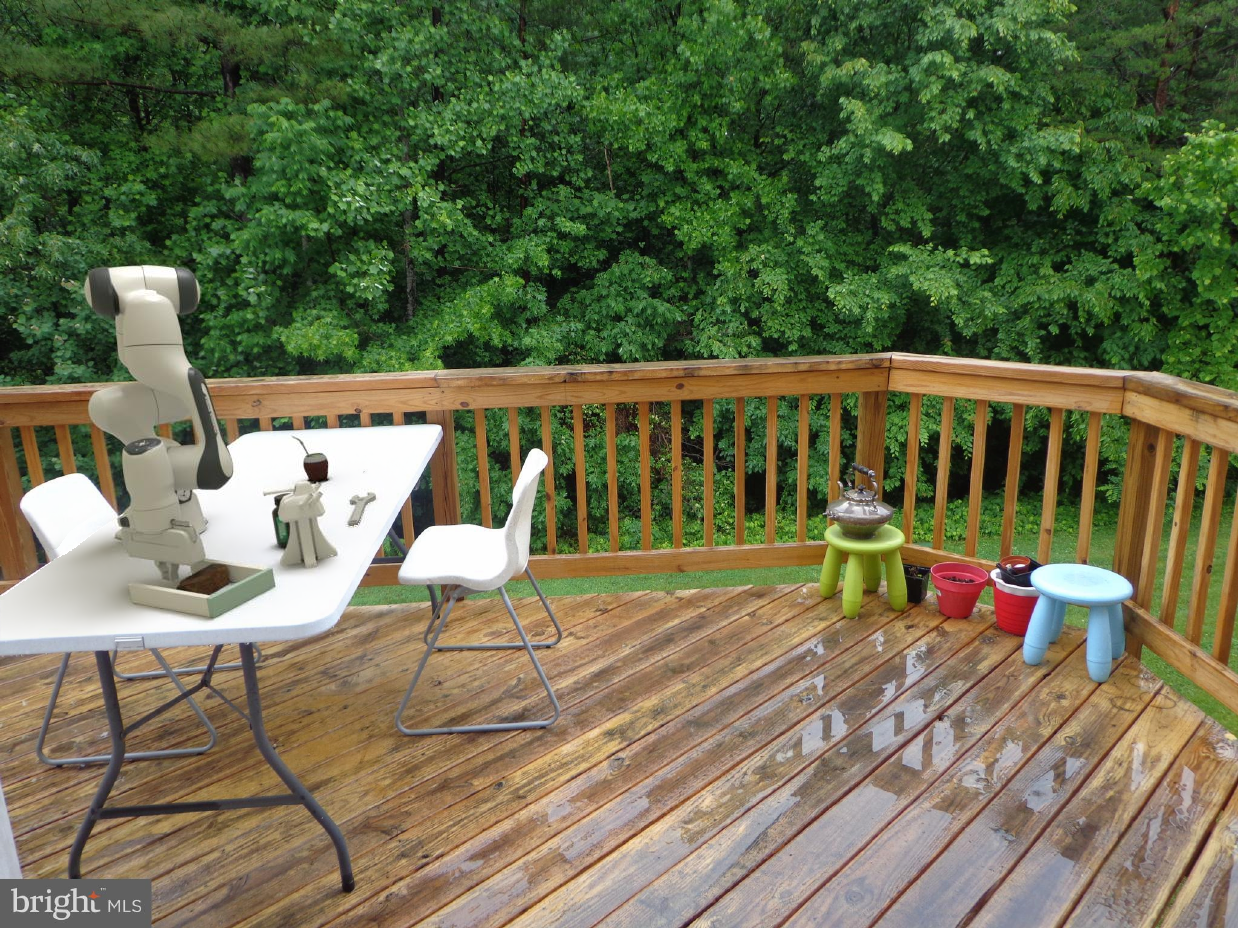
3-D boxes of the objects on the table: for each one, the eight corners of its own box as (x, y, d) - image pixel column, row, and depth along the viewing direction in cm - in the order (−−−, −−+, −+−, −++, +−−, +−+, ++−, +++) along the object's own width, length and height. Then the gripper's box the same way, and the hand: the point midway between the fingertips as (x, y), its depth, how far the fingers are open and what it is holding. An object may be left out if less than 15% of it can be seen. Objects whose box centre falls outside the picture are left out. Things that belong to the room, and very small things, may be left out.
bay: (132, 602, 177) (128, 584, 176) (196, 573, 191) (193, 556, 190) (214, 617, 168) (210, 598, 167) (275, 585, 182) (272, 568, 181)
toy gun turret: (274, 556, 199) (261, 481, 194) (334, 545, 204) (323, 472, 199) (277, 574, 188) (263, 495, 183) (340, 562, 193) (328, 485, 188)
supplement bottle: (286, 550, 202) (278, 502, 199) (272, 545, 206) (263, 497, 203) (313, 542, 207) (305, 494, 204) (298, 536, 211) (290, 489, 208)
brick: (215, 583, 186) (211, 562, 184) (230, 584, 184) (226, 563, 183) (178, 604, 176) (173, 582, 175) (193, 605, 175) (189, 584, 173)
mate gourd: (334, 477, 262) (327, 429, 258) (323, 484, 254) (315, 435, 250) (310, 477, 262) (303, 429, 258) (299, 485, 255) (291, 436, 251)
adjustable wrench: (358, 528, 216) (357, 521, 216) (332, 530, 216) (331, 523, 215) (377, 497, 240) (376, 491, 240) (354, 499, 240) (353, 493, 239)
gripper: (206, 517, 177) (218, 579, 181) (138, 508, 186) (151, 568, 189) (180, 527, 172) (193, 591, 175) (111, 518, 180) (125, 579, 184)
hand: (170, 579), depth 183 cm, fingers closed
